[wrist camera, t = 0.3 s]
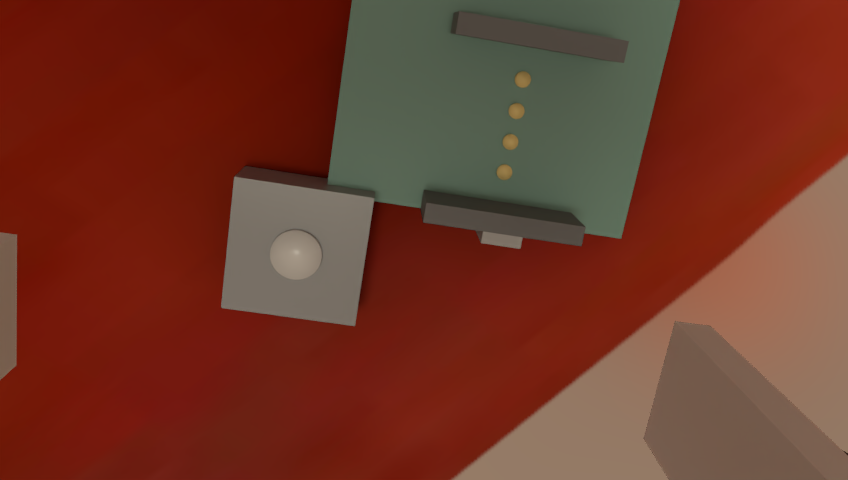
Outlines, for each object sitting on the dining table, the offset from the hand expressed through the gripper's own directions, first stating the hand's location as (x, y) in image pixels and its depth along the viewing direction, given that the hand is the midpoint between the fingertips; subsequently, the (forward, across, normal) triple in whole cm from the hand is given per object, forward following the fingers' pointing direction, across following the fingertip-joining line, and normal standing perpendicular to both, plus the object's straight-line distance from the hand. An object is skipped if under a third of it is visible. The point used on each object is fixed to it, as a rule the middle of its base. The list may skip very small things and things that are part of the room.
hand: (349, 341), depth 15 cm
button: (+26, -3, -6) cm, 26 cm away
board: (+26, +6, +8) cm, 28 cm away
